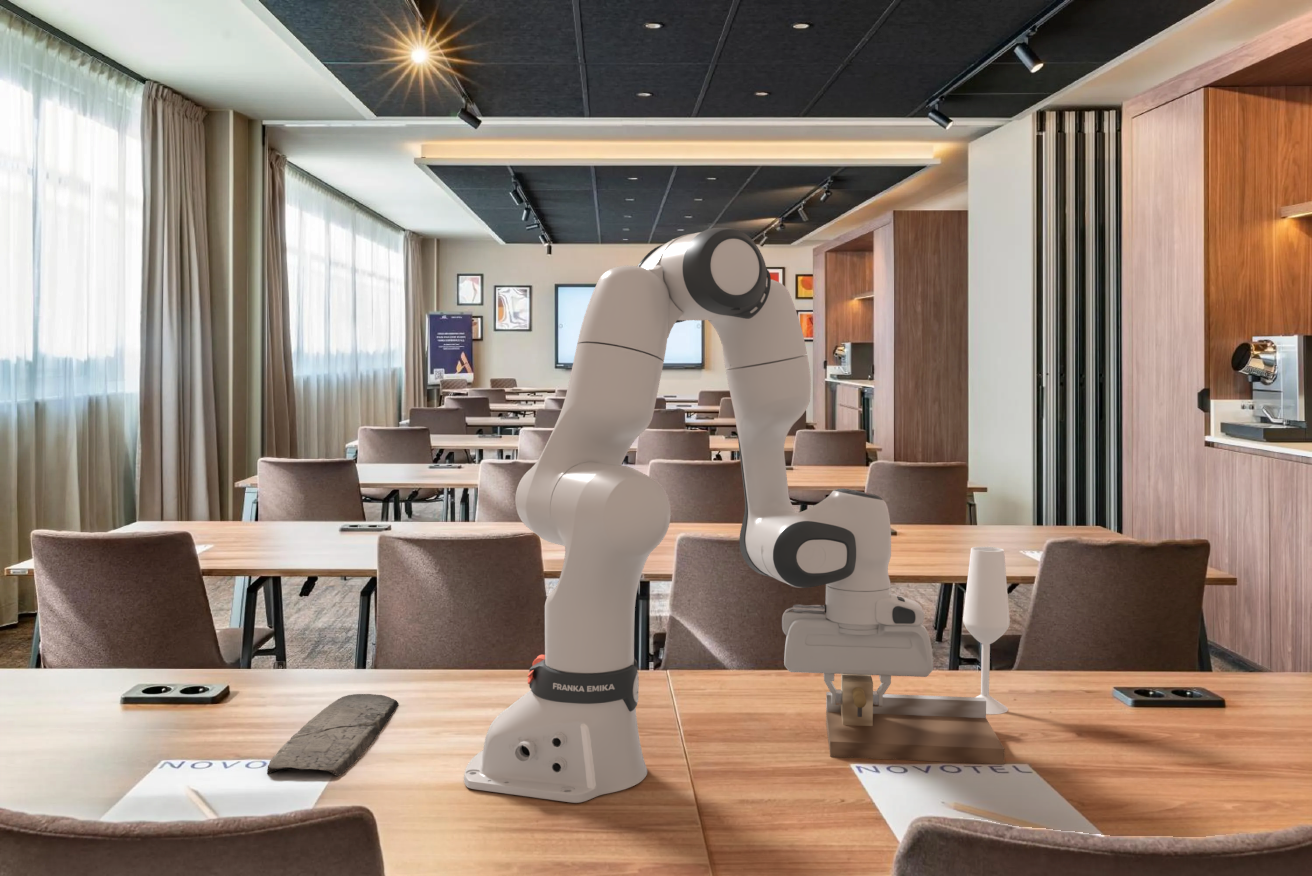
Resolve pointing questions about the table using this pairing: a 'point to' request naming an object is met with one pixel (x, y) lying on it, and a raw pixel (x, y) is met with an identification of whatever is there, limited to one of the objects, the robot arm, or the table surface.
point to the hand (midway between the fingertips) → (856, 704)
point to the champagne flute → (987, 610)
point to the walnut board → (918, 731)
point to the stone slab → (336, 734)
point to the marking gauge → (857, 699)
